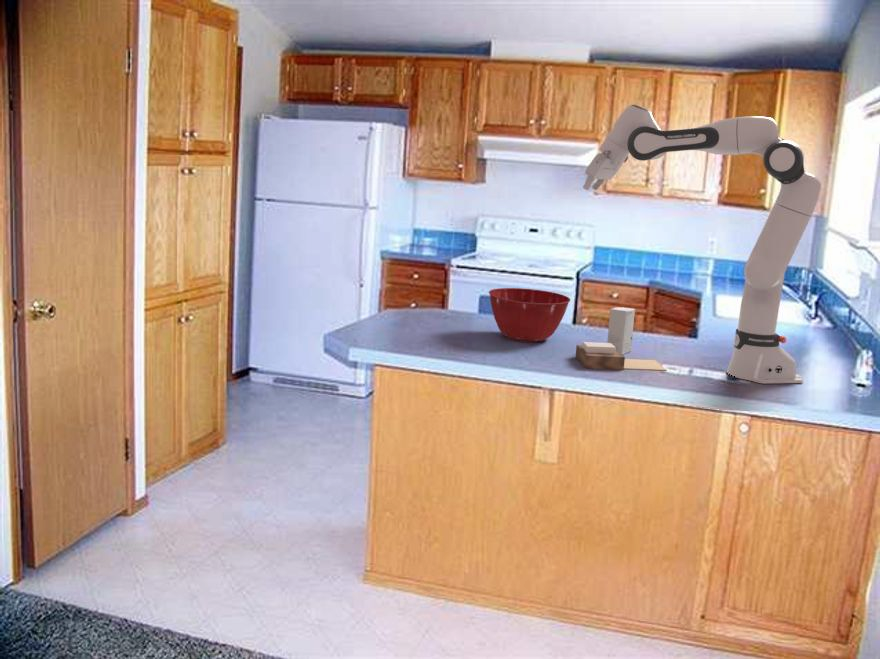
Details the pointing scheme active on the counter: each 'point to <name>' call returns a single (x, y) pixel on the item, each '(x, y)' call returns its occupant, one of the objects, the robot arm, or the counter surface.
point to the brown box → (600, 359)
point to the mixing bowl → (527, 312)
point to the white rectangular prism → (599, 347)
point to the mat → (642, 364)
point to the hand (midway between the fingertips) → (589, 189)
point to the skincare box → (621, 328)
